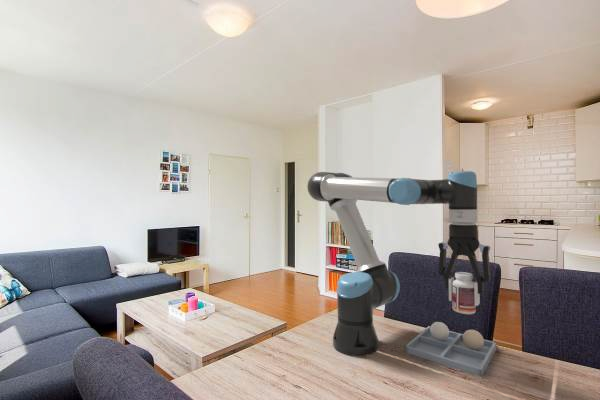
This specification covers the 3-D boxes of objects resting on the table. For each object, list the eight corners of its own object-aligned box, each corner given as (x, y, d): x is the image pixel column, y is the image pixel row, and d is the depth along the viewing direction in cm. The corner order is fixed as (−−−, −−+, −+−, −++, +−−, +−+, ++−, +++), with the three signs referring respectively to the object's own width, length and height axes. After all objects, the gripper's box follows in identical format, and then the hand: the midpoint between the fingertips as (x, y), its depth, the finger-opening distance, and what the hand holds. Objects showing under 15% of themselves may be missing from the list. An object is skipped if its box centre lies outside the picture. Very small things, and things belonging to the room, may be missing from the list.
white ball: (427, 340, 107) (427, 322, 107) (433, 334, 112) (433, 317, 112) (446, 345, 103) (445, 327, 103) (451, 339, 108) (451, 322, 108)
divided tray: (404, 354, 99) (404, 346, 99) (428, 332, 115) (428, 325, 115) (481, 379, 85) (481, 369, 85) (496, 350, 101) (496, 342, 101)
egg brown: (460, 349, 100) (460, 330, 100) (465, 343, 105) (465, 325, 105) (481, 355, 96) (481, 336, 96) (486, 348, 101) (485, 329, 101)
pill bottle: (480, 312, 92) (480, 274, 92) (468, 316, 89) (468, 277, 88) (459, 305, 97) (459, 270, 97) (447, 309, 94) (448, 272, 94)
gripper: (425, 223, 96) (426, 298, 96) (498, 226, 84) (499, 312, 84) (433, 221, 102) (434, 293, 102) (503, 224, 89) (504, 305, 89)
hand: (464, 301), depth 93 cm, fingers closed on pill bottle, 6 cm apart
